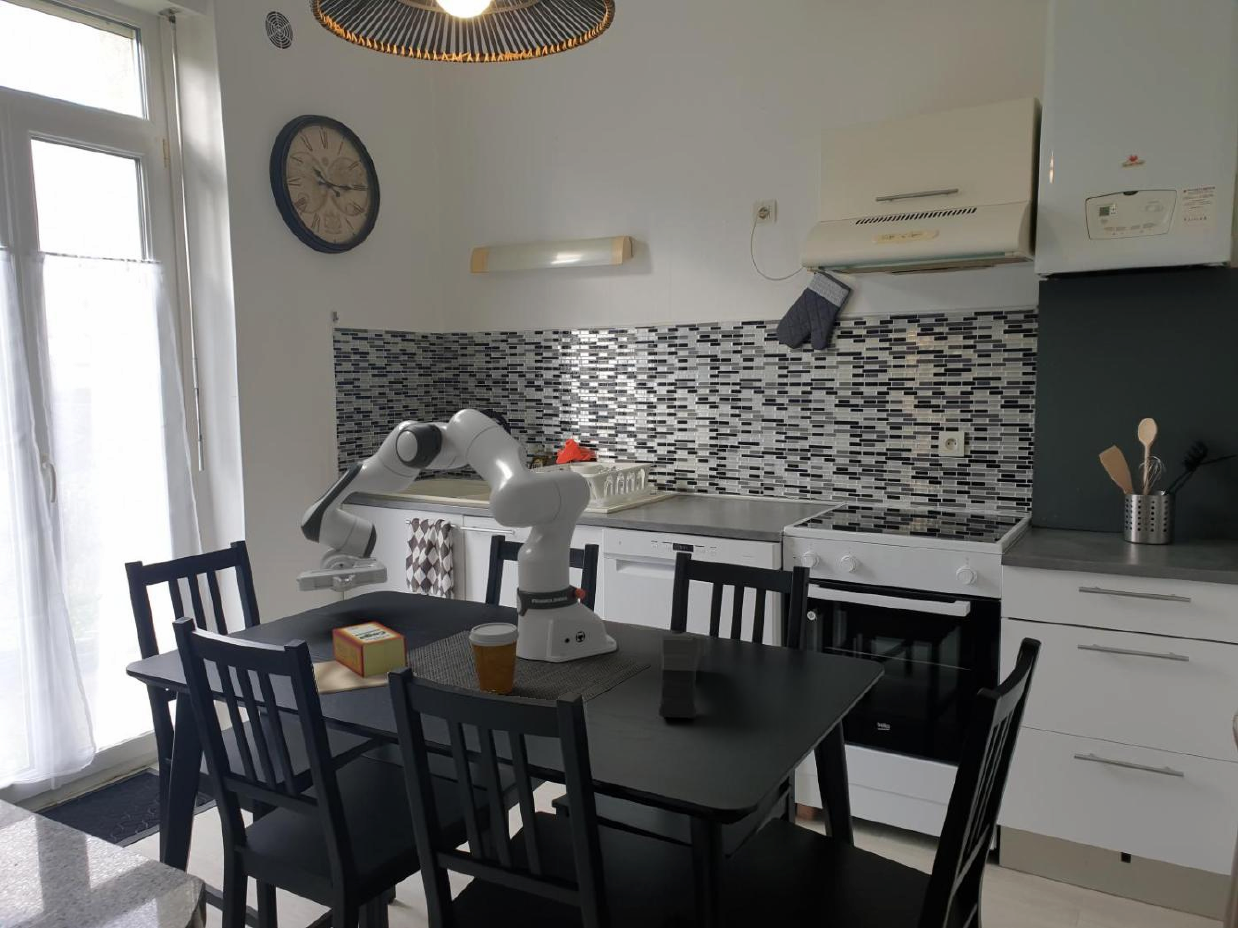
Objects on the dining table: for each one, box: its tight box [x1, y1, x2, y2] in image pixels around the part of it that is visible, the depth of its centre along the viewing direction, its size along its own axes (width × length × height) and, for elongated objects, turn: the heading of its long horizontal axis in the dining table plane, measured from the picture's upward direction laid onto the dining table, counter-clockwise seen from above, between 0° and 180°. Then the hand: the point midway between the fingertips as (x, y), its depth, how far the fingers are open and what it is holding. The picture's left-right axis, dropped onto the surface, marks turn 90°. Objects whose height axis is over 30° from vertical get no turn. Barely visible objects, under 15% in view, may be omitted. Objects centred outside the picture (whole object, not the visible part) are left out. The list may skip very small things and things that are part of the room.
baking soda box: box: [332, 621, 408, 678], centre depth 194 cm, size 10×6×16 cm
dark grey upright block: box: [658, 631, 709, 719], centre depth 173 cm, size 7×29×15 cm, turn 170°
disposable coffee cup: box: [468, 622, 519, 695], centre depth 177 cm, size 10×10×12 cm
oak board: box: [312, 660, 389, 695], centre depth 189 cm, size 18×19×1 cm
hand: (345, 583), depth 215 cm, fingers closed
